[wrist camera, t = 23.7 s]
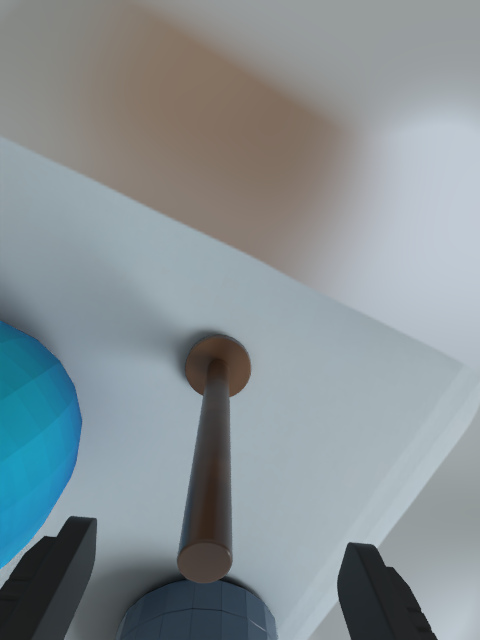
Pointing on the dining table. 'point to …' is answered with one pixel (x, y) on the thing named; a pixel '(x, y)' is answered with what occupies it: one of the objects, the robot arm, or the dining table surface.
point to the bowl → (198, 614)
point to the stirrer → (211, 459)
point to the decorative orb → (32, 437)
